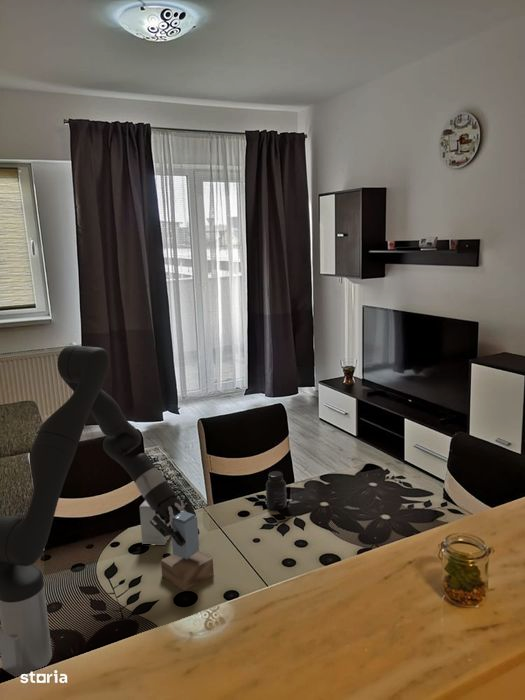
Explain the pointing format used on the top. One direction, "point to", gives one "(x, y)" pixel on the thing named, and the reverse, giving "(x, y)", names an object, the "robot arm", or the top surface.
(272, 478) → the supplement bottle
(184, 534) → the pale blue upright prism
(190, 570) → the walnut box
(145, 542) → the supplement box
